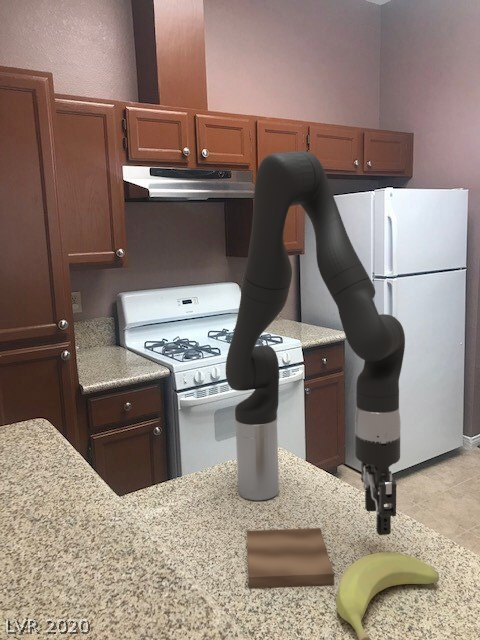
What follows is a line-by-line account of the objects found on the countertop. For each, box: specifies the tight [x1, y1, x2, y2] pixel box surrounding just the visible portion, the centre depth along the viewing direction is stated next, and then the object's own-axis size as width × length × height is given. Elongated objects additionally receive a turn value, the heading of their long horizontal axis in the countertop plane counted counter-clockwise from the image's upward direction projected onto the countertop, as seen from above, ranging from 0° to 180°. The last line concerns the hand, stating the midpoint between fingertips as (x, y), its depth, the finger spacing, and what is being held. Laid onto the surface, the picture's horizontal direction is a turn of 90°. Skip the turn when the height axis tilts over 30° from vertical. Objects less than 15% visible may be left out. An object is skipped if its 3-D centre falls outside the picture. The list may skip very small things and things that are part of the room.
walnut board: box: [246, 527, 335, 589], centre depth 93 cm, size 14×14×2 cm
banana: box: [335, 551, 440, 640], centre depth 80 cm, size 14×6×20 cm
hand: (377, 521), depth 92 cm, fingers open, 7 cm apart
